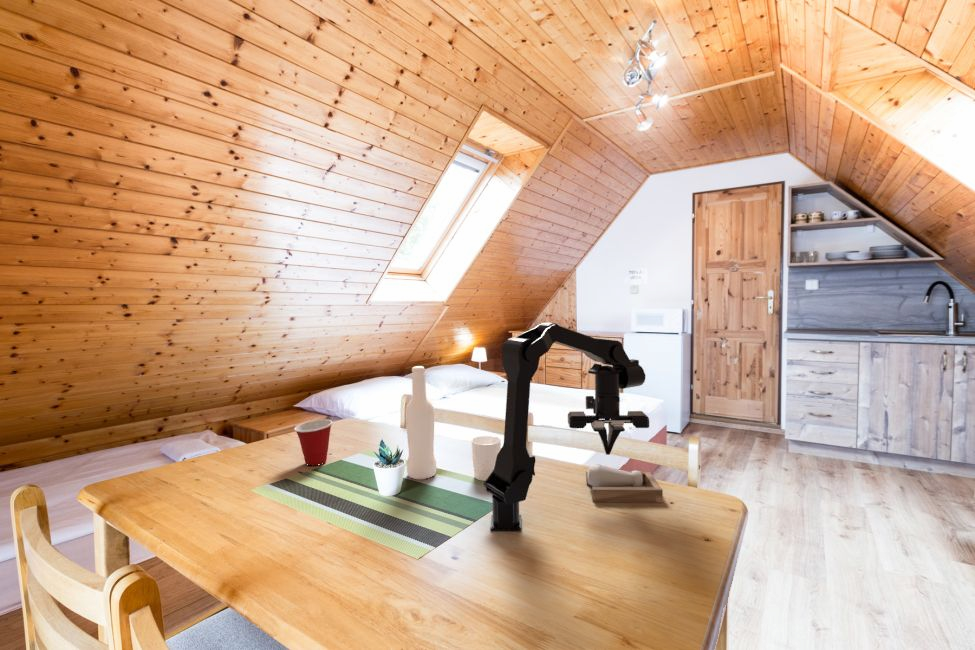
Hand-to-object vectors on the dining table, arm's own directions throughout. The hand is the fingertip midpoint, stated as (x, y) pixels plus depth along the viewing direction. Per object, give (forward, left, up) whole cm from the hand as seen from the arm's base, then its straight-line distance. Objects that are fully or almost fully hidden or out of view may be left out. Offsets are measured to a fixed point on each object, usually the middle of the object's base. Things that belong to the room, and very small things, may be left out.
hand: (607, 454), depth 119 cm
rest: (0, -3, -10) cm, 10 cm away
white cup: (+10, +31, -10) cm, 34 cm away
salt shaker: (+1, +5, -6) cm, 8 cm away
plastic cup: (+20, +83, -10) cm, 85 cm away
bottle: (+11, +49, -10) cm, 51 cm away
